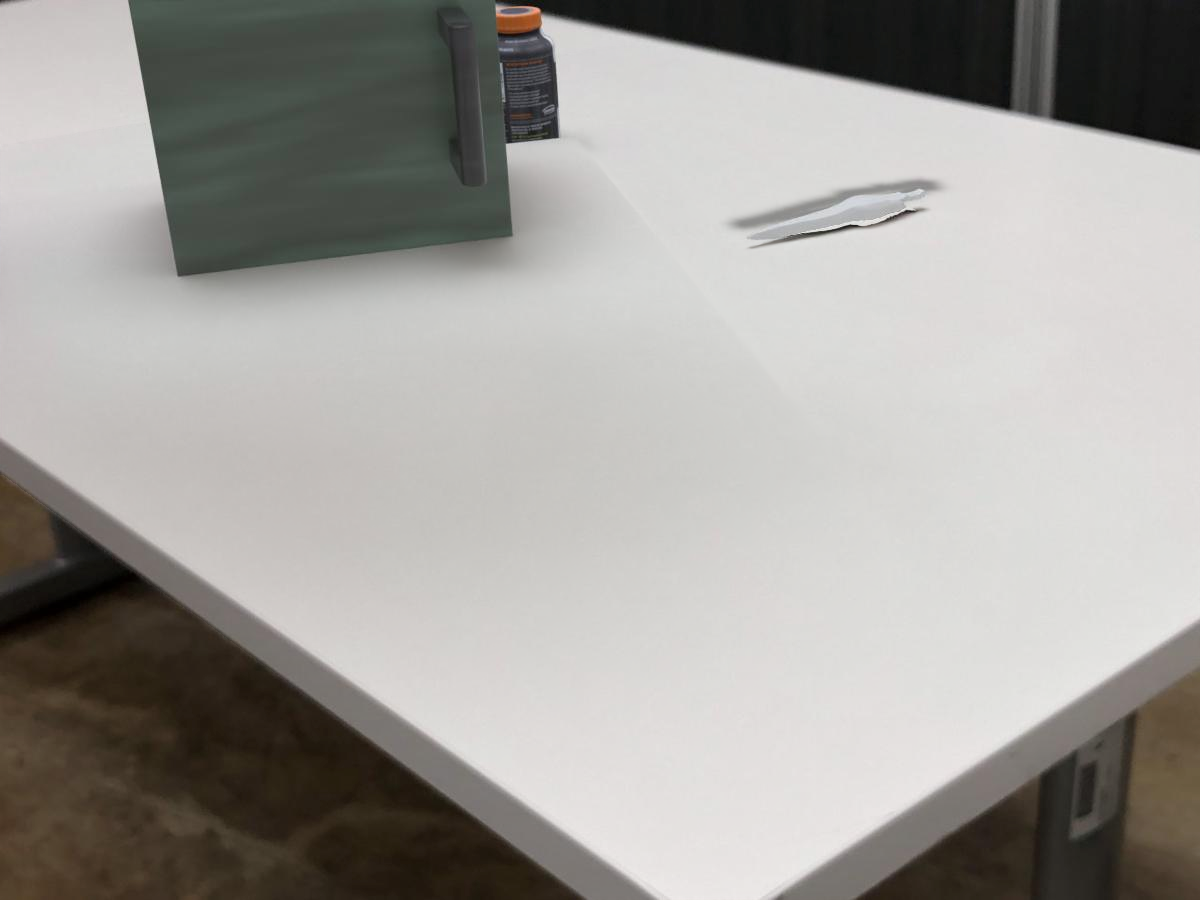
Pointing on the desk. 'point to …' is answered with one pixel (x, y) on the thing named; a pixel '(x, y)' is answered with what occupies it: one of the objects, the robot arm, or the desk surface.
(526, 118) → the pill bottle
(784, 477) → the desk surface
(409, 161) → the cupboard door
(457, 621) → the desk surface
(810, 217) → the grey tapered strip
